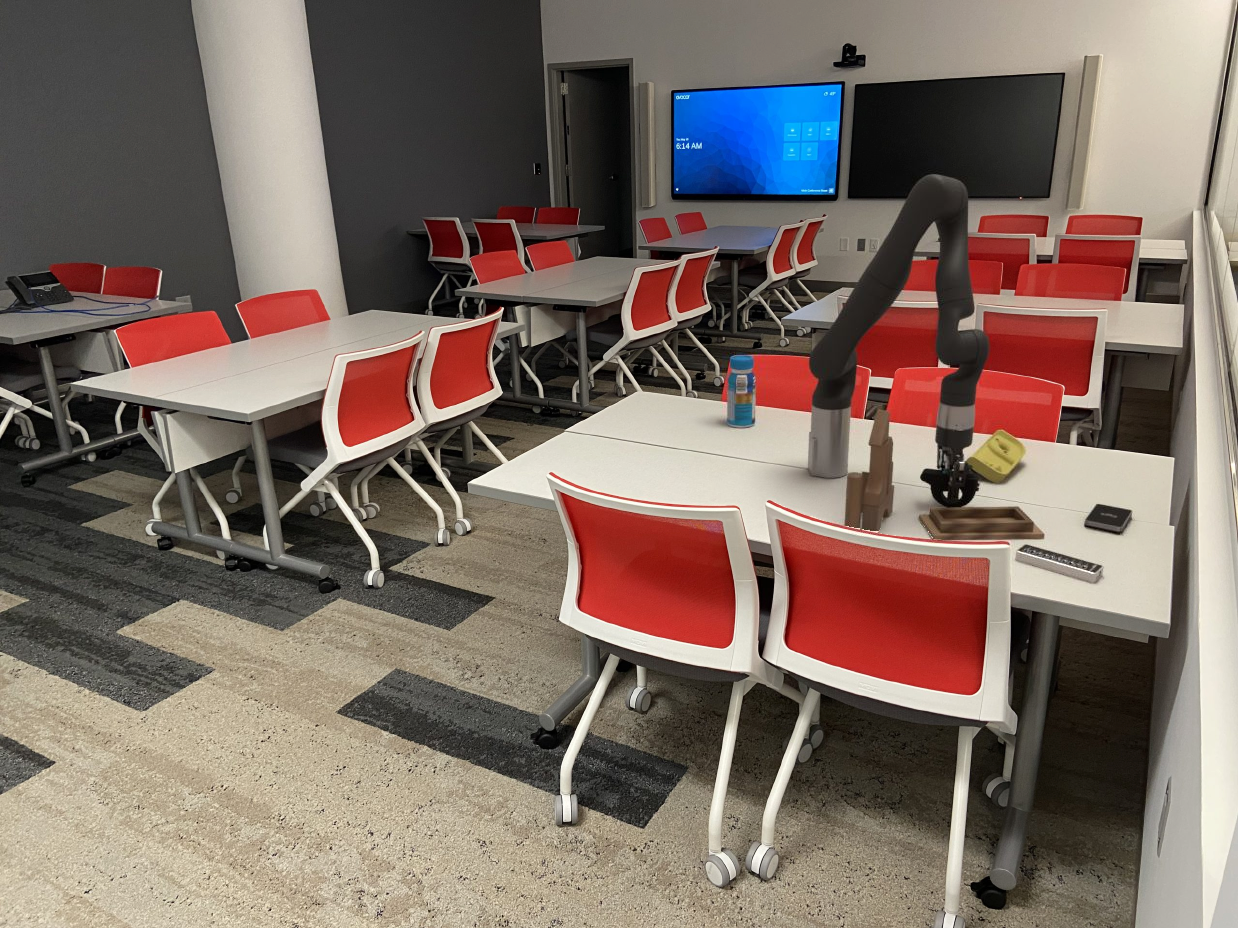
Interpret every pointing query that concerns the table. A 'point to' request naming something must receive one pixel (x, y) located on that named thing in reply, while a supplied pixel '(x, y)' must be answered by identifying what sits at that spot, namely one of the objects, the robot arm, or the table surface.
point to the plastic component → (997, 456)
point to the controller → (940, 481)
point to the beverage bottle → (741, 392)
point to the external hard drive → (1108, 518)
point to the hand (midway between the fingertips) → (948, 495)
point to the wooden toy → (872, 481)
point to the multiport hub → (1059, 563)
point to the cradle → (980, 523)
